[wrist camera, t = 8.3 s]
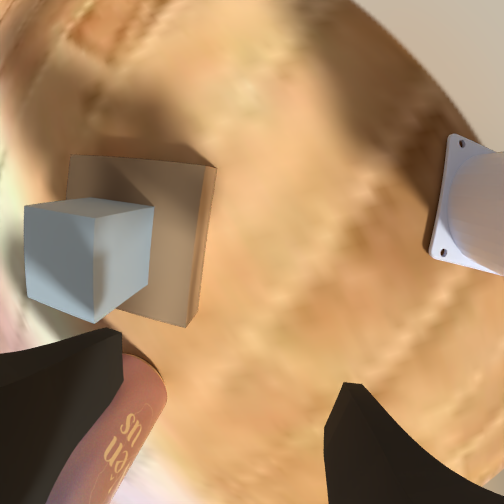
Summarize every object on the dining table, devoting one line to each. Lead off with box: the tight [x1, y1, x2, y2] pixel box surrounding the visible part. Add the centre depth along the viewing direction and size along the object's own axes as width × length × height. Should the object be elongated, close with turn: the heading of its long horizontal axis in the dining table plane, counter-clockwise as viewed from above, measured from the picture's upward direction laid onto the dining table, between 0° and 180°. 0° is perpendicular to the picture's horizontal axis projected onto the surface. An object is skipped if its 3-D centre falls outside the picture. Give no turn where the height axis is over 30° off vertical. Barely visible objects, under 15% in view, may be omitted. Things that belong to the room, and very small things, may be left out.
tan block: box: [66, 155, 217, 328], centre depth 18 cm, size 9×9×3 cm
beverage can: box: [46, 353, 167, 504], centre depth 14 cm, size 6×6×15 cm
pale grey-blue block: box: [24, 197, 154, 324], centre depth 13 cm, size 4×4×6 cm
